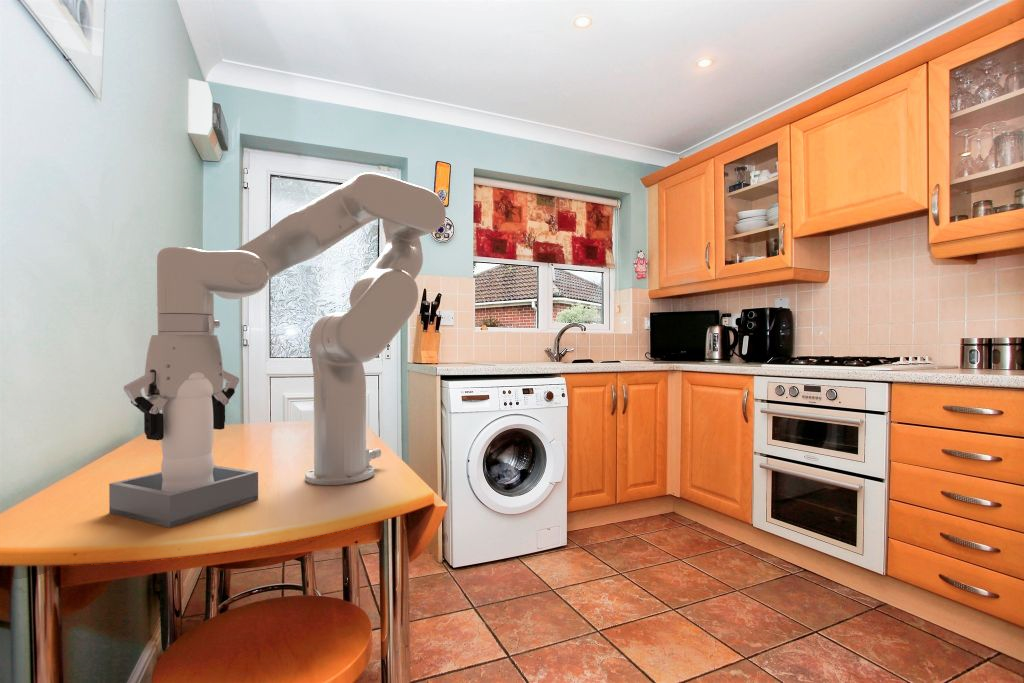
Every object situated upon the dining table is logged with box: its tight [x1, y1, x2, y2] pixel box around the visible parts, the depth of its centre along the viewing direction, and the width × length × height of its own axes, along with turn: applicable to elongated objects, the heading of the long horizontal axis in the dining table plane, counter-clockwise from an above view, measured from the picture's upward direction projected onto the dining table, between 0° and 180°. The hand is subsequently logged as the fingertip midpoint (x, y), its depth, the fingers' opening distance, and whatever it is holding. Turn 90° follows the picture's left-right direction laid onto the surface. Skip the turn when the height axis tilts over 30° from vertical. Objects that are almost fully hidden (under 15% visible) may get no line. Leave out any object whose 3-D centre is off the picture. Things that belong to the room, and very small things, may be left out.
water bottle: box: [160, 348, 215, 493], centre depth 80 cm, size 7×7×25 cm
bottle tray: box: [108, 465, 259, 529], centre depth 79 cm, size 14×15×4 cm
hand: (187, 433), depth 80 cm, fingers open, 9 cm apart
